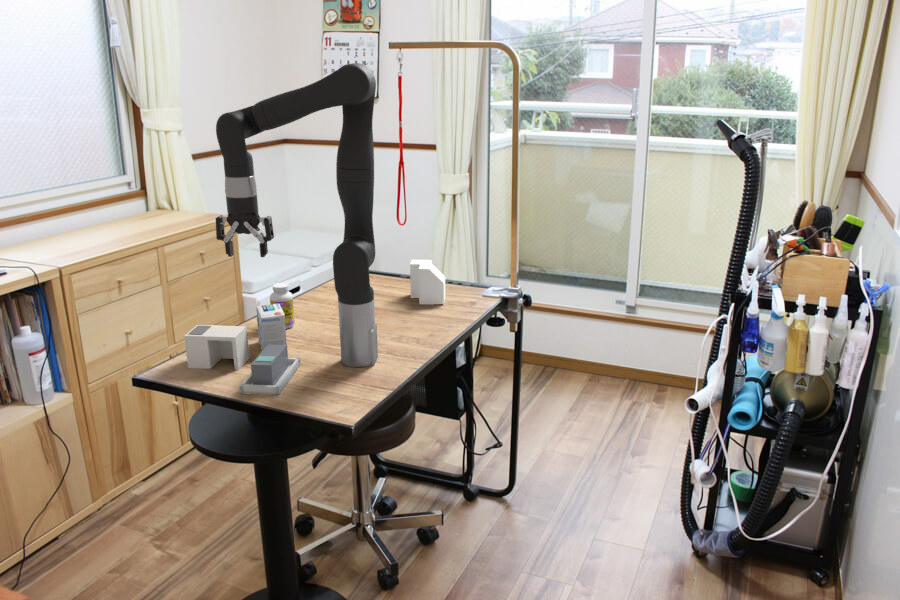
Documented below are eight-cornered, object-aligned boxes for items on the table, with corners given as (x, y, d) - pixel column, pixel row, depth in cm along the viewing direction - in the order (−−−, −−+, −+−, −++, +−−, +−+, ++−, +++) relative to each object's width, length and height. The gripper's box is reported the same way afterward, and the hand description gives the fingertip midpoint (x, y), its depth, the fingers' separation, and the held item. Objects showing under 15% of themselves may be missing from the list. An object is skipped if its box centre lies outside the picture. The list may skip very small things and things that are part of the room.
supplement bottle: (274, 331, 218) (271, 289, 214) (270, 324, 224) (266, 283, 220) (297, 328, 221) (294, 286, 217) (292, 320, 227) (289, 280, 223)
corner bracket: (412, 293, 252) (411, 259, 248) (445, 294, 251) (445, 260, 247) (409, 304, 242) (408, 268, 238) (443, 304, 241) (443, 269, 237)
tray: (300, 364, 195) (299, 357, 194) (279, 395, 178) (278, 387, 177) (265, 363, 196) (264, 356, 195) (240, 393, 179) (239, 385, 178)
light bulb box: (258, 341, 211) (255, 305, 207) (282, 338, 213) (279, 302, 210) (263, 355, 201) (259, 317, 198) (288, 351, 204) (285, 314, 200)
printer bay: (249, 357, 200) (246, 325, 197) (238, 369, 192) (235, 336, 189) (200, 356, 201) (197, 324, 198) (188, 367, 193) (184, 334, 190)
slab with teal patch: (288, 366, 193) (287, 344, 191) (273, 388, 180) (271, 364, 178) (269, 365, 193) (268, 343, 191) (252, 387, 181) (250, 363, 179)
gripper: (273, 191, 189) (278, 253, 194) (219, 190, 190) (225, 252, 195) (264, 196, 182) (269, 260, 187) (207, 196, 183) (214, 259, 188)
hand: (247, 256), depth 191 cm, fingers open, 8 cm apart
